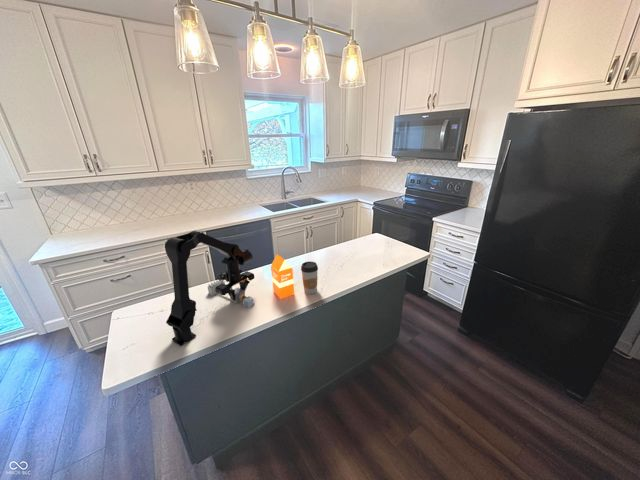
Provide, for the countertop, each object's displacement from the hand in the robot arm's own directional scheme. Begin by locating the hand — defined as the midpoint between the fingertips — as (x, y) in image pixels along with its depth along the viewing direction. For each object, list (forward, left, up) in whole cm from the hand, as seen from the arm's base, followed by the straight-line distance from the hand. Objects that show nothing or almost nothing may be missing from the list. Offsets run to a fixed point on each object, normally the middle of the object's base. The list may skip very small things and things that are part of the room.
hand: (238, 297), depth 125 cm
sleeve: (0, 0, 0) cm, 1 cm away
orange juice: (-14, -17, -2) cm, 22 cm away
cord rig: (+5, 0, -1) cm, 5 cm away
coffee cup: (-25, -25, -2) cm, 36 cm away
